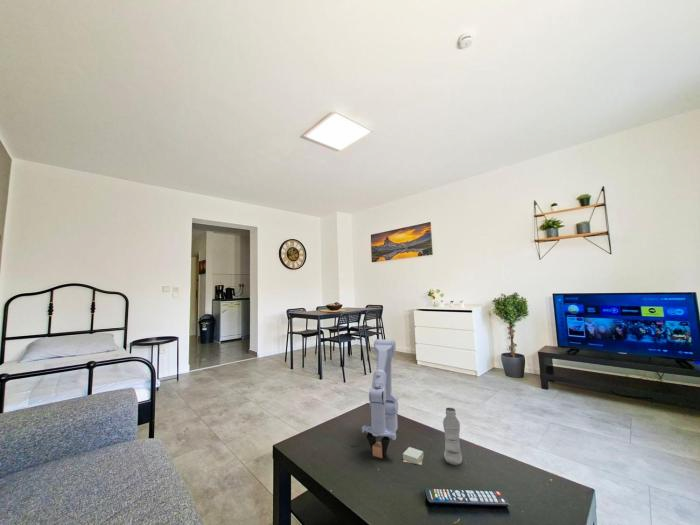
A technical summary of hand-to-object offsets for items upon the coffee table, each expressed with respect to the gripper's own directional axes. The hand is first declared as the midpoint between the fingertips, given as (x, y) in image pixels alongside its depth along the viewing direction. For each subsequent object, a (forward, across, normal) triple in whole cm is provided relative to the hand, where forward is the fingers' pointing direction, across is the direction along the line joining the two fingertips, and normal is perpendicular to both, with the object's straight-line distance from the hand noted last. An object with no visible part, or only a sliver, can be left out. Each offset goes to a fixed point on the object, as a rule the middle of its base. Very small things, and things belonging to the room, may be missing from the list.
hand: (379, 454), depth 113 cm
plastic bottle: (+2, +27, +10) cm, 29 cm away
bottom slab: (+2, +13, +4) cm, 14 cm away
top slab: (0, +13, +4) cm, 14 cm away
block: (+2, 0, 0) cm, 2 cm away
